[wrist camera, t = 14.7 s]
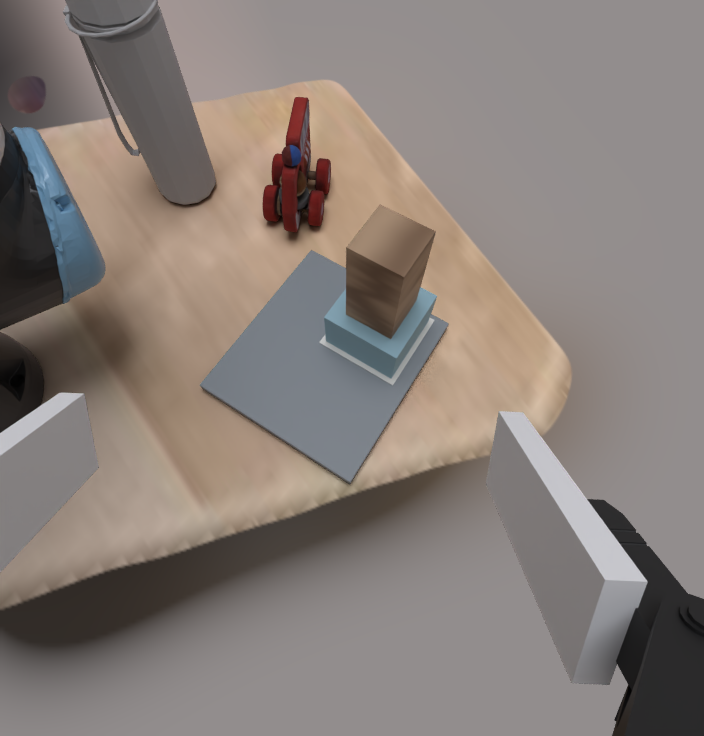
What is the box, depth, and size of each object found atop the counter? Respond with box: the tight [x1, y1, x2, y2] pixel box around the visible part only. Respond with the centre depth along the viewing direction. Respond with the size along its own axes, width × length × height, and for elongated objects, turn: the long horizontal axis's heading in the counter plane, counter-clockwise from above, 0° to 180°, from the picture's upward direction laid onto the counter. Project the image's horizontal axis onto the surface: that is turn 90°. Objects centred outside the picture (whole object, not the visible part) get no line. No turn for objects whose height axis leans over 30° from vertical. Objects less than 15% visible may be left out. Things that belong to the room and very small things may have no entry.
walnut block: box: [346, 205, 436, 339], centre depth 39 cm, size 5×5×10 cm
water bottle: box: [63, 0, 216, 205], centre depth 46 cm, size 9×8×25 cm
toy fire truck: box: [263, 97, 331, 232], centre depth 52 cm, size 7×12×10 cm, turn 173°
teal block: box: [324, 287, 437, 379], centre depth 46 cm, size 8×8×5 cm
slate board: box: [200, 250, 449, 484], centre depth 48 cm, size 18×20×1 cm
